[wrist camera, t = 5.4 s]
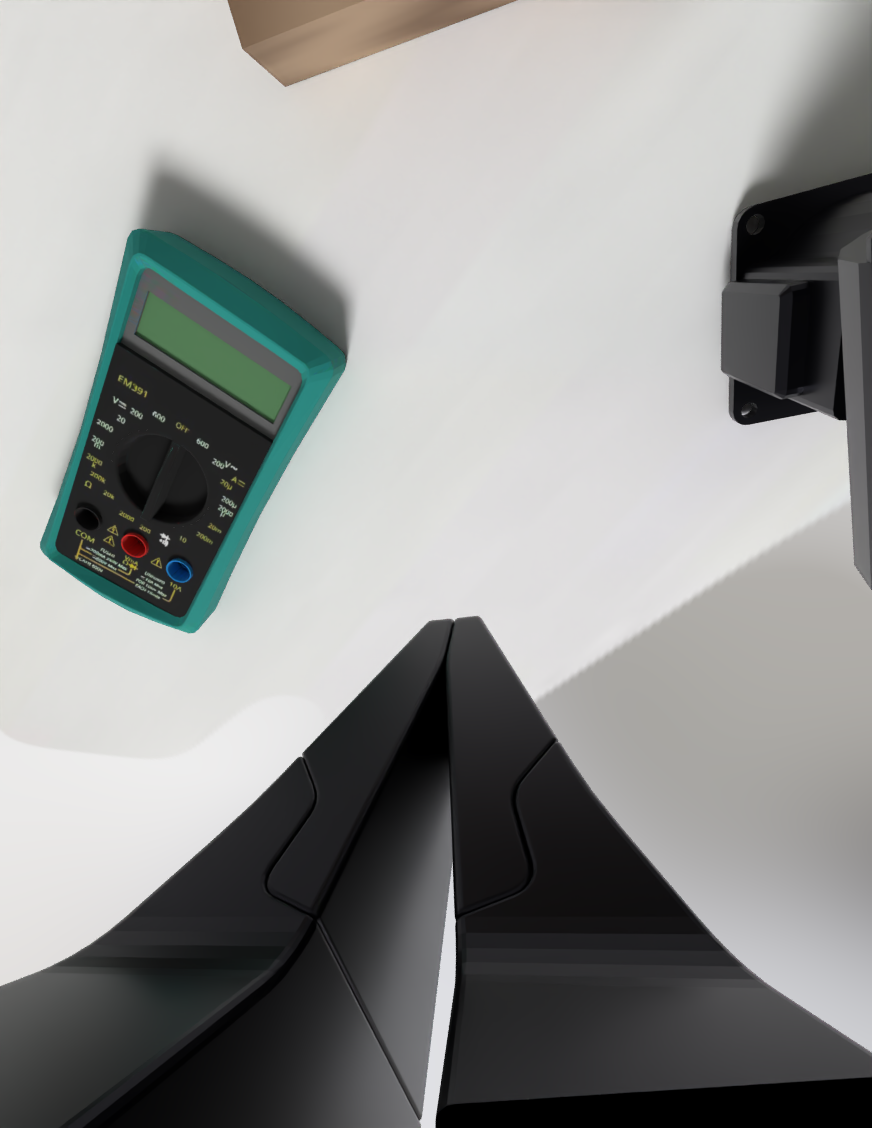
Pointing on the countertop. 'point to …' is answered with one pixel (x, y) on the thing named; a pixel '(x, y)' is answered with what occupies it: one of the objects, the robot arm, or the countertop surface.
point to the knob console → (338, 29)
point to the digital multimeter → (184, 430)
